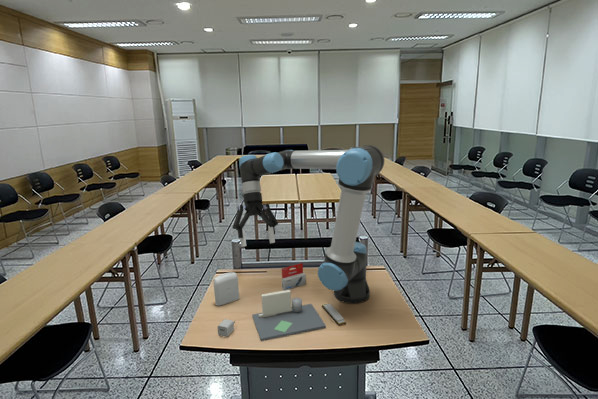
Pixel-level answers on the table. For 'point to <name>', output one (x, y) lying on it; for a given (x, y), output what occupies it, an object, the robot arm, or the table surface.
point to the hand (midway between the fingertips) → (258, 244)
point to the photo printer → (226, 288)
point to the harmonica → (334, 314)
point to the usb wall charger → (225, 327)
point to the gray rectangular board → (288, 323)
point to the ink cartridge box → (293, 277)
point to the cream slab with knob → (279, 303)
